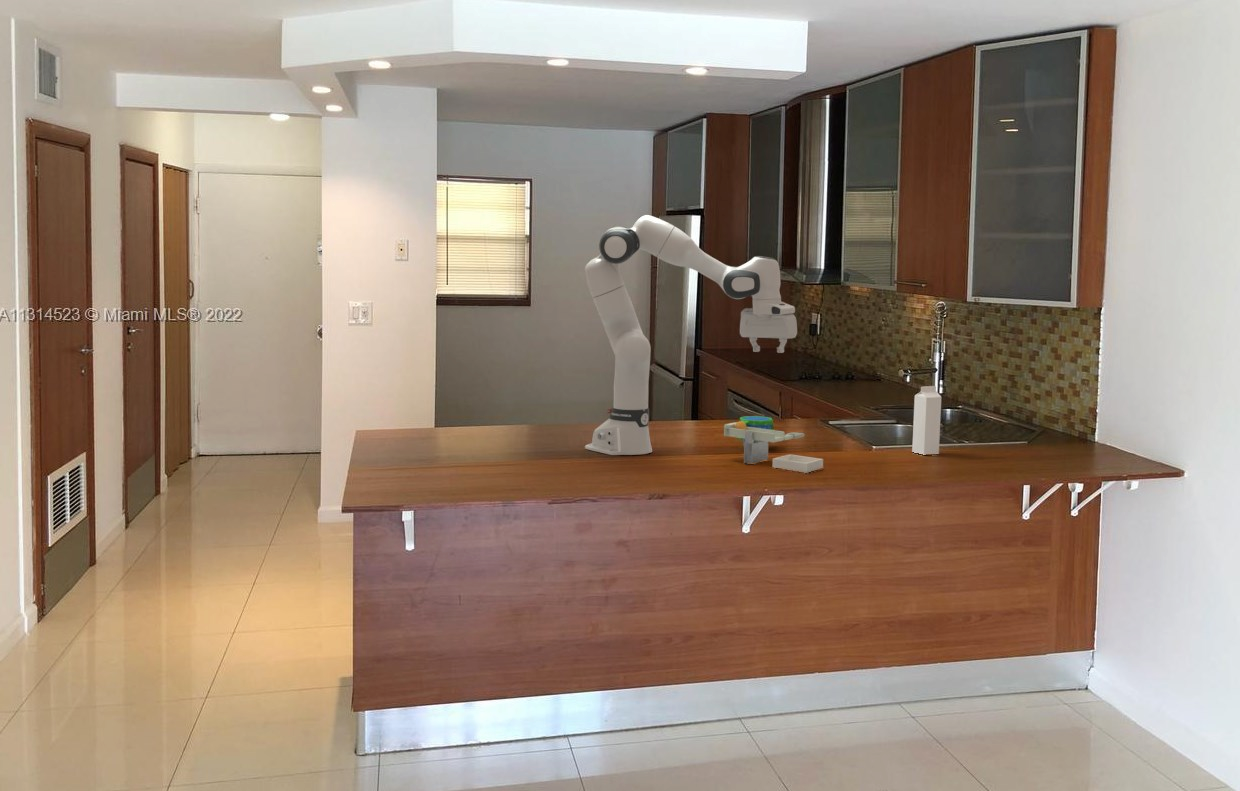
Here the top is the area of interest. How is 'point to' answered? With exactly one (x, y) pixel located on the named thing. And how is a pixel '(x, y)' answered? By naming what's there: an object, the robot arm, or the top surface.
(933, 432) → the milk
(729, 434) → the lever
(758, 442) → the stand
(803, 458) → the white flat rimmed tray
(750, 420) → the snack cup
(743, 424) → the ball
